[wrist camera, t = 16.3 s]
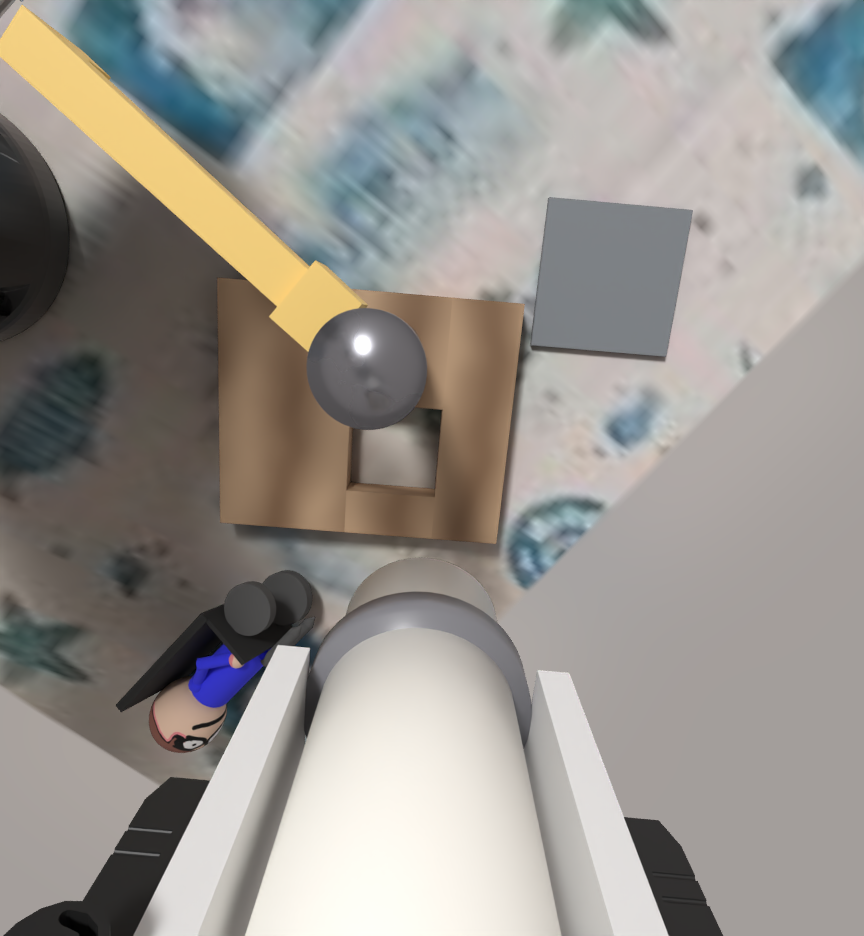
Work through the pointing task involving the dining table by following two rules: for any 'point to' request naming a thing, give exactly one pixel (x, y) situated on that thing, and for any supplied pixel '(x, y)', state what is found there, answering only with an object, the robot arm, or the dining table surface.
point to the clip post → (367, 368)
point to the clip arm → (175, 177)
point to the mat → (609, 276)
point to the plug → (412, 774)
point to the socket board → (330, 442)
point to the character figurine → (220, 659)
